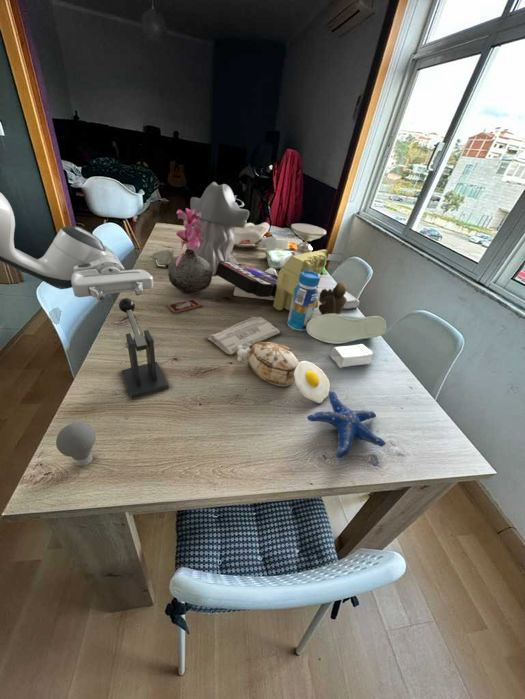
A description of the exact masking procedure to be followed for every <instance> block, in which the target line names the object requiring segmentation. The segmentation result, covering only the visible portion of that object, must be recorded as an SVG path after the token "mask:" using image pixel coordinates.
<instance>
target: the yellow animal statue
mask: <svg viewBox="0 0 525 699" xmlns="http://www.w3.org/2000/svg"><path fill="white" fill-rule="evenodd" d="M327 253H328V250H327V249H319V250H315V251H311V252H309V253H304V254H299V255H294V256H291V257H290V259H289V260H288V261H287V262H286V263H285V264H284V266H283V267H282V269H280V270H279V271H278V273H277V276H278V278H277V284H276V285H277V289H276V294H275V300H273V305H272V306H273V308H274V309H276V310H278V311H281V310H284V309H286V310H287V311H289V312H290V308H291V303H292V297H293V295H294V294H295V293H294V290H295V288H296V286H297V285H298V284H299V277H300V273H301V272H302V271H313V272H315V273H317V274H319V275H320V276H321V274H322V273H321V271H322V269H323V268H324V267H325V266H326V265H325V263H326V264H327V259H328V256H327ZM316 288H317V289H318V288H319V285H318V286H317V287H316ZM319 305H320V304H319V302H318V297H317V298H316V304H315V307H314V309H316V308H319Z"/></svg>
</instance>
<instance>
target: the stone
mask: <svg viewBox="0 0 525 699" xmlns="http://www.w3.org/2000/svg"><path fill="white" fill-rule="evenodd" d="M174 255H175V253H174V250H171V249H162V250H158V251H156V252H153V253H152V254H151V257H153V258H154V257H155V258H154V260H155V259H156V260H157V262H158V264H159V265H166V266H158V265H157V264H156V267H157V268H164V269H166V268H167V266H169V264H170V263H171V261H172V260H173V259H174ZM156 260H155V261H156Z"/></svg>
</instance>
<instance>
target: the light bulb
mask: <svg viewBox="0 0 525 699" xmlns="http://www.w3.org/2000/svg"><path fill="white" fill-rule="evenodd" d="M96 440H97V434H96V430H95V428H94V427H93V426H92V425H91V424H89V423H87V422H84V421H75V422H71V423H69V424H67V425H65V426H64V427H62V428H61V430H59V432H58V434H57V436H56V440H55V445H56V446H55V447H56V449H57V450H58V451H59V453H60V454H62V455H63V456H65V457H69V458H71V459H73V460H75V462H76V464H77V466H79V467H86V466H88V465H89V464H91V463H92V462H93V455H92V449H93V447H94V445H95V443H96Z"/></svg>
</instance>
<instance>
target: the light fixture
mask: <svg viewBox="0 0 525 699" xmlns="http://www.w3.org/2000/svg"><path fill="white" fill-rule="evenodd" d="M290 229H291V230H292V231H293V233H294V235H295V236H296V235H297V239H299V238H300V239H301V240H302V242H300V243H299V244H297V245H296V246H297V250H295V251H293V250H292V251H293V252H291V253H292V255H290V256H286V257H283V258H281V259H280V261H279V263H280V265H281V266H282V267H283V266H284V264H285V263H286V262H287V261H288V260H289V259H290V257H291V256H294V255H299V254H304V253H309V252H313V247H312V246H311V244H310V243H308V242H312V241H314V240H318V239H321V238H322V237H324V236H326V235H327V230H326V229H324V228H322V227H319V226H318V225H317V226H316V225H313V224H309V223H291V224H290Z"/></svg>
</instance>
